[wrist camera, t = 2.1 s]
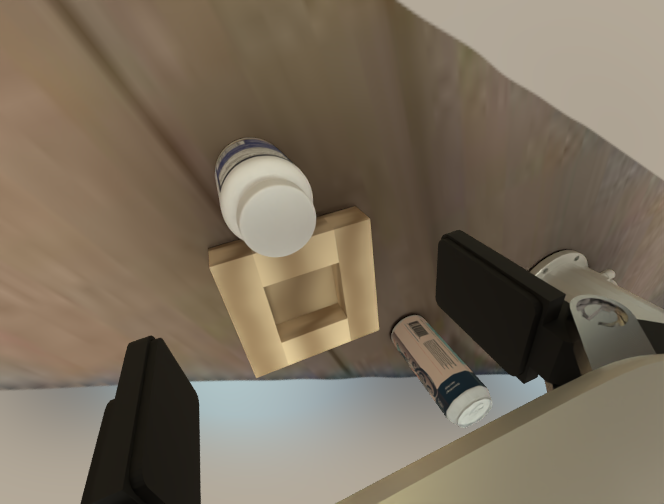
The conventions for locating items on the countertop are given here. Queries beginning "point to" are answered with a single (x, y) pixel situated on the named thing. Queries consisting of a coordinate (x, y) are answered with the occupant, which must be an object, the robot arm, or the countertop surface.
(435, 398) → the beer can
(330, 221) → the socket block
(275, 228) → the pill bottle
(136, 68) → the countertop surface
